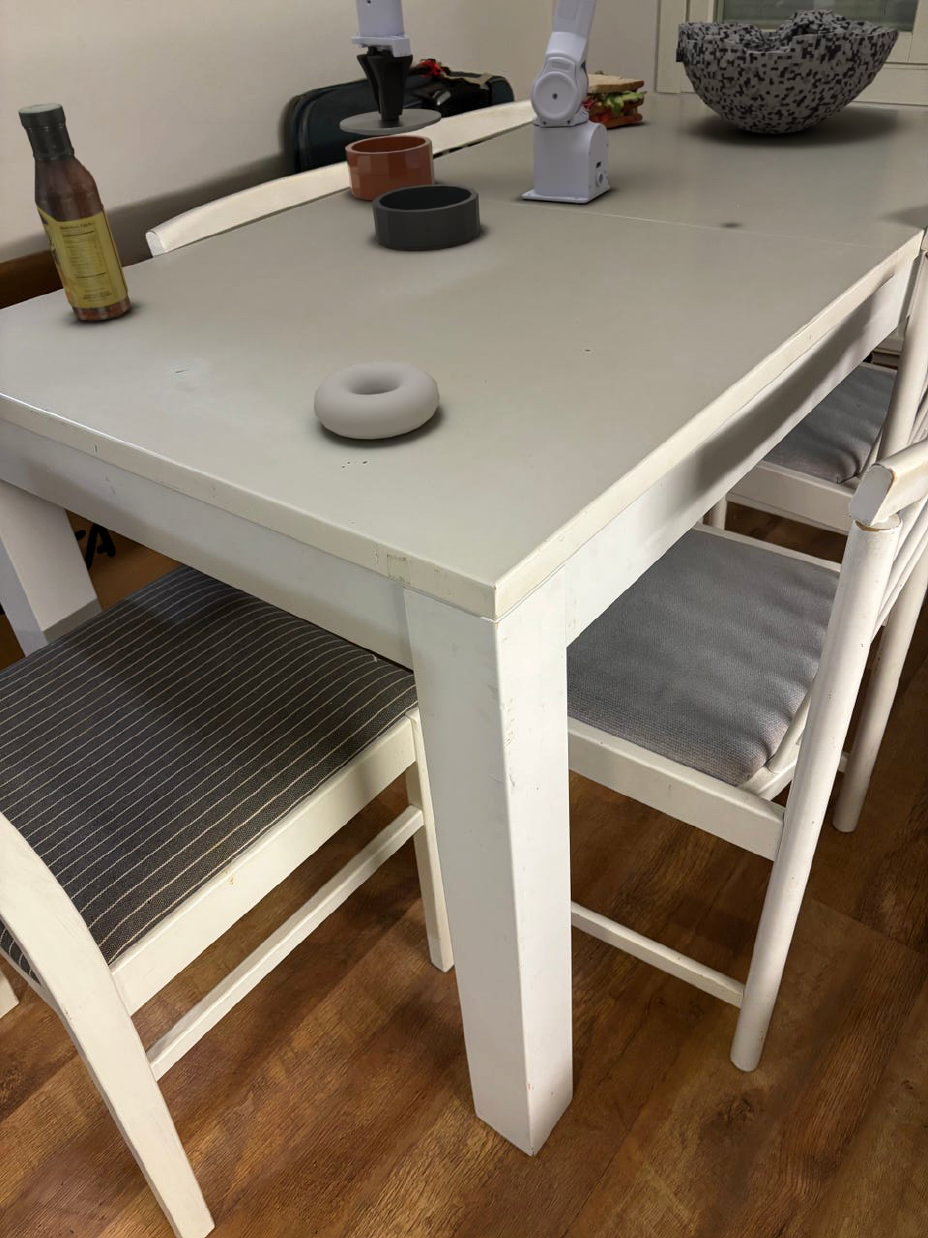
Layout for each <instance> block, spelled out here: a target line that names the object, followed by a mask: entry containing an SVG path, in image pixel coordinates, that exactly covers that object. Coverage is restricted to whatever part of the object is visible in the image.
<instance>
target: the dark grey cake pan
mask: <svg viewBox="0 0 928 1238" xmlns="http://www.w3.org/2000/svg"><path fill="white" fill-rule="evenodd" d="M479 198H480V197H479V192H477V190H475V188H473V187H469V186H466V185H461V184H450V183H436V184H435V183H434V184H432V185H420V186H412V187H405V188H400V189H396V190H392V191H389V192H386V193H384V194H382V195H379V196H377V197H376V198H375V199H374V200H371V206H372V213H373V214H372V215H373V221H374V222H373V223H374V229H375V236H376V239H377V243H378V244H380V245H381V246H383V247H384V248H388V249H393V250H397V251H411V252H412V251H413V252H414V251H415V252H416V251H417V252H418V251H419V252H420V251H433V250H441V249H447V248H452V247H456V246H460V245H463V244H465V243H468V242H470V241H472V240H474V239H476V238H477V237H478V236H479V234H480V228H481V216H480V200H479Z"/></svg>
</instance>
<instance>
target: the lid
mask: <svg viewBox="0 0 928 1238" xmlns="http://www.w3.org/2000/svg"><path fill="white" fill-rule="evenodd" d="M378 92H379V101H380V110H381V114H379V112H378V110H377V111H370V112H365V113H360V114H356V115H353V116H349V117H347V118H344V119H343V120H341V121H340V122H339V128H340V129H341V131H344V132H348V133H352V134H353V133H354V134H358V135H364V136H393V135H403V134H408V133H412V132H417V131H420V130H422V129H423V130H424V129H425V128H426V127H431V126H433V125H436V124H437V123H439V122H441V120H442V113H440V112H439V111H437V110H432V109H424V108H403V112H402V115H400V116H393V117H386V114H385V112H384V108H383V104H382V99H381V94H380V90H379V89H378Z"/></svg>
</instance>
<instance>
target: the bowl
mask: <svg viewBox="0 0 928 1238" xmlns="http://www.w3.org/2000/svg"><path fill="white" fill-rule="evenodd" d="M833 11H834V9H800V10H796V11H794V13H792V14H791V15H790V17H788V18H787V19H785V20H783V21H782V24H781V25H779V26H778V28H777V29H776V30H775V31H762V30H761V28H759V27H758V26H756V25H755V24H752V23H751V24H750V23H739V22H737V21H729V22H728V21H727V22H726V21H712V22H703V21H702V20H701V21H693V22H690V21H685V22H682V23H680V24H679V23H678V26H677V27H678V28H677V29H678V30H677V45H676V46H677V47H676V48H675V63H682V65H683V68H684V72H685V76H686V77H687V78H688V80H689V81H690V83H691V85H692V88H693V92H694V93H695V94H696V95H697V96H698V97H699V99H700V100H702V102H703V103H704V105H706V106H707V107H708V108H709V109H711V110H712V111H714V112H715V113H716V114H717V115H719V117H721V118H722V119H723V121H725V122H729V123H730V125H735V126H736V127H737V128H739V129H741V130H744V131H749V132H753V133H758V134H770V135H779V134H786V133H793V132H798V131H802V130H805V129H808V128H810V127H812V126H816V125H819V124H820V123H822V122H823V121H825V120H828V119H831V118H833V117H834V116H835V115H836V114H837V113H840V111H841V110H842V109H844V108H845V107H846V106H848V105H850V104H851V103H852V102H853V101H854V100H855V99H856V98H858V97H859V96H860V95H861V93H862V92H863V91H865V90H866V89H867V88H868V87H869V86H870V85H871V84H872V83H873V82H874V80H875V79H876V77H877V75H878V73H879V72H880V71H881V70H882V68H884V66H885V63H886V62H887V60H888V59H889V57H890V55H891V53H892V50H893V48H894V47H895V45H896V43H897V41H898V40H899V36H900V34H901V27H887V26H878V25H876V24H874V23H872V21H870V20H855V19H853V20H852V19H846V17H845V16H844V15H841V14H837V13H833Z"/></svg>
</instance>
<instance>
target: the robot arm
mask: <svg viewBox="0 0 928 1238" xmlns="http://www.w3.org/2000/svg"><path fill="white" fill-rule="evenodd" d="M597 2H598V0H557V1H556V7H555V12H554V18H553V23H552V29H551V34H550V37H549V40H548V43H547V47H546V51H545V53H544V54H545V55H544V59H543V64H542V67H541V69H540V72H539V73H538V74H537V75H536V76H535V78H534V80H533V82H532V85H531V88H530V96H529V99H530V104H531V107H532V110H533V112H534V113H535V116H533V118H532V144H533V148H532V149H533V187H534V188H532V189H530V190H528V191H527V192H525V193H523V194H521V198H522V199H525V200H535V201H536V200H537V201H552V202H560V203H561V202H562V203H563V202H564V203H575V204H576V203H577V204H586V203H589V202H590V201H592V200H593V199H596V198H597V197H599V196H600V195H602V194H604V193H605V192H607V191H609V190H610V189H611V185H610V184H609V147H610V146H609V143H610V142H609V133H608V128H606V127H605V126H604V125H603V124H600V123H593V122H591V121H590V120H588V119H589V113H588V112H586V110H585V108H584V107H583V106H582V105H581V103H582V102H583V101H584V99H585V97H586V95H587V93H588V89H589V77H588V74H589V73H588V67H587V63H588V56H589V52H590V38H591V31H592V29H593V23H594V18H595V12H596V7H597V4H598V3H597ZM402 3H403V1H402V0H355V6H356V7H355V8H356V13H357V23H358V30H357V31H356V34H357V35H356V36H351V37H350V42H351V44H354V45H358V48H360V49H367V51H366V53H360V54H357V55H356V59H357V62H358V63H359V65H360V67H361V69H362V70H363V73H364V74H365V77H366V79H367V82H368V84H369V87H370V90H371V93H372V97H373V100H374V101H373V102H374V104H375V107H376V110H377V111H378V112H379V114H381V110H380V101H379V92H378V89H379V90H380V94H381V99H382V104H383V108H384V112H385V114H386V117H393V116H400V115H402V112H403V109H404V102H405V92H406V85H407V80H408V75H409V72H410V69H411V67H412V65H413V61H414V55H413V54H412V51H411V39H410V36H407V31H405V24H404V14H403V4H402Z"/></svg>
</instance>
